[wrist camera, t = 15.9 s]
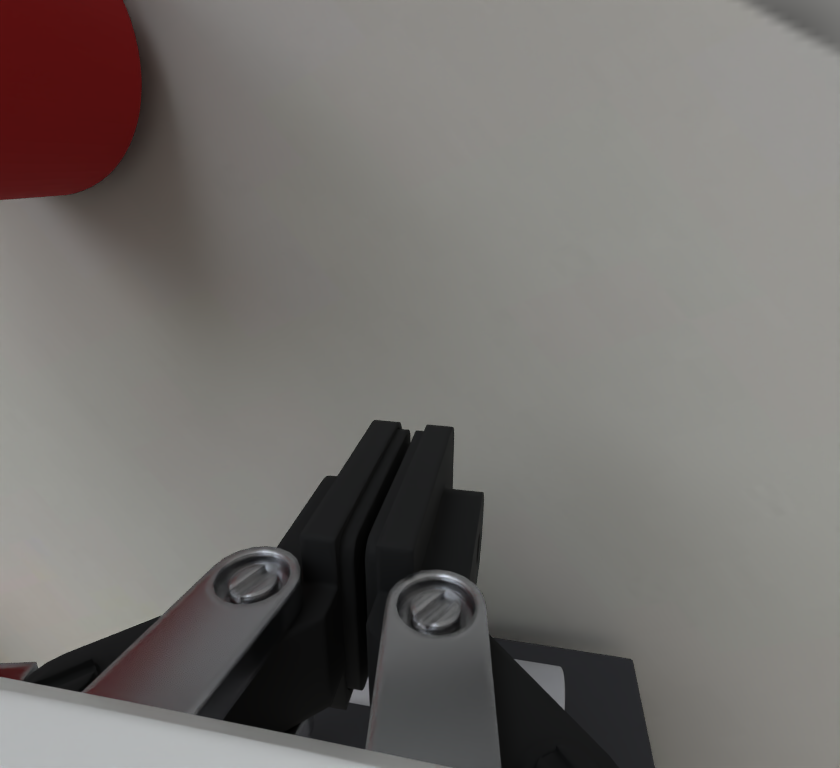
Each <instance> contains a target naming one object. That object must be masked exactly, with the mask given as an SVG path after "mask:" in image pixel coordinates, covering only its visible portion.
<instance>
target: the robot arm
mask: <svg viewBox="0 0 840 768" xmlns="http://www.w3.org/2000/svg"><path fill="white" fill-rule="evenodd" d="M453 456H454V428H453V427H448V426H436V425H427V426H426V427H425V430H424V431H416V432H415V434H414V436H413V439H412V441H411V443H410V431H409V430H404V429H402V427H401V423H400V422H391V421H380V420H374V421H373V422H372V423H371V425H370V426H369V428H368V429H367V431H366V432H365V434H364V436H363V437H362V439H361V440H360V442H359V443H358V445H357V446H356V448H355V450H354V451H353V453H352V454H351V456H350V457H349V459H348V460H347V462H346V464H345V465H344V467H343V468H342V470H341V471H340V473H339V474H338V476H326V477H325V478H324V479H323V481H322V482H321V483H320V485H319V486H318V488H317V489H316V491H315V492H314V494H313V495H312V497H311V498H310V500H309V501H308V503H307V504H306V505H305V507H304V508H303V510H302V511H301V513H300V514H299V516H298V517H297V519H296V520H295V522H294V523H293V524H292V526H291V527H290V529H289V530H288V532H287V533H286V535H285V536H284V538H283V539H282V541H281V542H280V544H279V545H278V546H277V548H276V547H268V546H264V547H252V548H248V549H245V550H241V551H238V552H235V553H233V554H231V555H229V556H227V557H225V558H224V559H222V560H221V561H220V562H218V563H217V564H216V565H214V566H213V567H212V568H211V569H210V570H209V571H208V572H207V573H206V574H205V575H204V576H203V577H202V578H201V579H200V580H199V581H198V582H196V583H195V584H194V585H193V586H192V587H191V588H190V589H189V590H188V591H187V592H186V593H185V594H184V595H183V596H182V597H181V598H180V599H179V600H178V601H177V602H176V603H174V604H173V605H172V606H171V607H170V608H169V609H168V610H167V611H166V612H165V613H164V614H163V615H162V616H159V617H157V618H154V619H151V620H149V621H146V622H144V623H141V624H139V625H136V626H134V627H131V628H129V629H126V630H124V631H121V632H119V633H116V634H114V635H111V636H108V637H106V638H103V639H101V640H98V641H96V642H93V643H91V644H88V645H86V646H83V647H81V648H78V649H76V650H73V651H71V652H68V653H65V654H63V655H61V656H59V657H57V658H55V659H53V660H51V661H49V662H47V663H46V664H44V665H43V666H41V667H40V668H39V669H38V666H37V663H36V662H23V663H0V768H619V767H618V766H617V765H616V763H615V762H614V761H613V759H612V758H611V757H610V756H609V755H608V754H607V753H606V752H605V751H604V750H603V749H602V748H601V747H600V746H599V744H598V743H597V742H596V741H595V740H594V739H593V738H592V737H591V736H590V735H589V734H588V733H587V732H586V731H585V730H584V729H583V728H582V727H581V726H580V725H579V724H578V723H577V722H576V721H575V720H574V719H573V718H572V717H571V716H570V715H569V714H568V713H567V712H566V711H565V710H564V709H563V708H562V707H561V706H560V705H559V704H558V703H557V702H556V701H555V700H554V699H553V698H552V697H551V696H550V695H549V694H548V693H547V692H546V691H545V690H544V689H543V688H542V687H541V686H540V685H539V684H538V683H537V682H536V681H535V680H534V679H533V678H532V677H531V676H530V675H529V674H528V673H527V672H526V671H525V670H524V669H523V668H522V667H521V666H520V665H519V664H518V663H517V662H516V661H515V660H514V659H513V658H512V657H511V656H510V655H509V654H508V653H507V651H506V650H505V649H504V648H503V647H502V646H501V645H500V644H499V643H498V642H497V641H496V640H495V639H494V638H493V637H492V636H491V635H490V634H489V630H488V619H487V609H486V603H485V600H484V597H483V594H482V593H481V591H480V590H479V589H478V587H477V586H476V583H477V576H478V569H479V560H480V551H481V539H482V525H483V506H484V492H475V491H466V490H456V489H453ZM367 679H369V702H370V719H369V727H368V734H367V741H366V748H365V749H360V748H355V747H350V746H346V745H341V744H336V743H331V742H326V741H321V740H316V739H312V738H310V736H311V733H312V730H313V728H314V721H315V714H317V713H319V712H321V711H323V710H324V709H326V708H328V707H331V708H336V709H342V710H347V707H348V704H349V701H350V698H351V695H352V692H353V690H354V689H355V690H361V691H362V690H363V689H364V687H365V685H366V682H367Z"/></svg>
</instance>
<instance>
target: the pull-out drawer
mask: <svg viewBox="0 0 840 768" xmlns="http://www.w3.org/2000/svg"><path fill="white" fill-rule="evenodd" d="M494 639H495V640H496V641H497V642H498V643H499V644H500V645H501V646H502V647H503V648H504V649H505V650H506V651H507V653H508V654H509V655H510V656H511V657H512V658H513V659H514V660H515V661H516V662H517V663H518V664H519V665H520V666H521V667H522V668H523V669H524V670H525V671H526V672H527V673H528V674H529V675H530V676H531V677H532V678H533V679H534V680H535V681H536V682H537V683H538V684H539V685H540V686H541V687H542V688H543V689H544V690H545V691H546V692H547V693H548V694H549V695H550V696H551V697H552V698H553V699H554V700H555V701H556V702H557V703H558V704H559V705H560V706H561V707H562V708H563V709H564V710H565V711H566V712H567V713H568V714H569V715H570V716H571V717H572V718H573V719H574V720H575V721H576V722H577V723H578V724H579V725H580V726H581V727H582V728H583V729H584V730H585V731H586V732H587V733H588V734H589V735H590V736H591V737H592V738H593V739H594V740H595V741H596V742H597V743H598V744H599V746H600V747H601V748H602V749H603V750H604V751H605V752H606V753H607V754H608V755H609V756H610V757H611V758H612V759H613V761H614V762H615V763H616V765H617V766H618V767H619V768H655V766H654V761H653V756H652V751H651V746H650V742H649V737H648V732H647V727H646V722H645V717H644V713H643V708H642V703H641V698H640V693H639V688H638V683H637V679H636V674H635V669H634V664H633V661H632V660H631V659H628V658H621V657H615V656H608V655H602V654H596V653H589V652H583V651H576V650H570V649H563V648H557V647H550V646H544V645H537V644H531V643H524V642H518V641H511V640H505V639H498V638H494ZM369 719H370V702H369V679H367V682H366V685H365V687H364V689H363V690H362V691H361V690H355V689H354V690H353V692H352V695H351V698H350V701H349V704H348V707H347V710H342V709H336V708H331V707H328V708H326V709H324V710H323V711H321V712H319V713H317V714H315V721H314V728H313V730H312V733H311V736H310V738H312V739H316V740H321V741H326V742H331V743H336V744H341V745H346V746H350V747H355V748H360V749H365V748H366V741H367V734H368V727H369Z"/></svg>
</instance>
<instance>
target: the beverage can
mask: <svg viewBox="0 0 840 768" xmlns="http://www.w3.org/2000/svg"><path fill="white" fill-rule="evenodd" d="M141 92H142V78H141V65H140V58H139V51H138V46H137V41H136V37H135V33H134V30H133V26H132V23H131V20H130V17H129V14H128V11H127V9H126V6H125V4H124V2H123V0H0V200H6V199H19V198H33V197H46V196H59V195H68V194H74V193H77V192H80V191H83V190H85V189H88V188H90V187H92V186H94V185H95V184H97V183H99V182H100V181H101V180H103V179H104V178H105V177H107V176H108V175H109V174H110V173H111V172H112V171H113V170H114V169H115V167H116V166H117V165H118V164H119V163H120V161H121V160H122V158H123V156H124V155H125V153H126V151H127V149H128V147H129V146H130V143H131V141H132V138H133V136H134V133H135V129H136V126H137V122H138V117H139V112H140V105H141Z"/></svg>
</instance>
